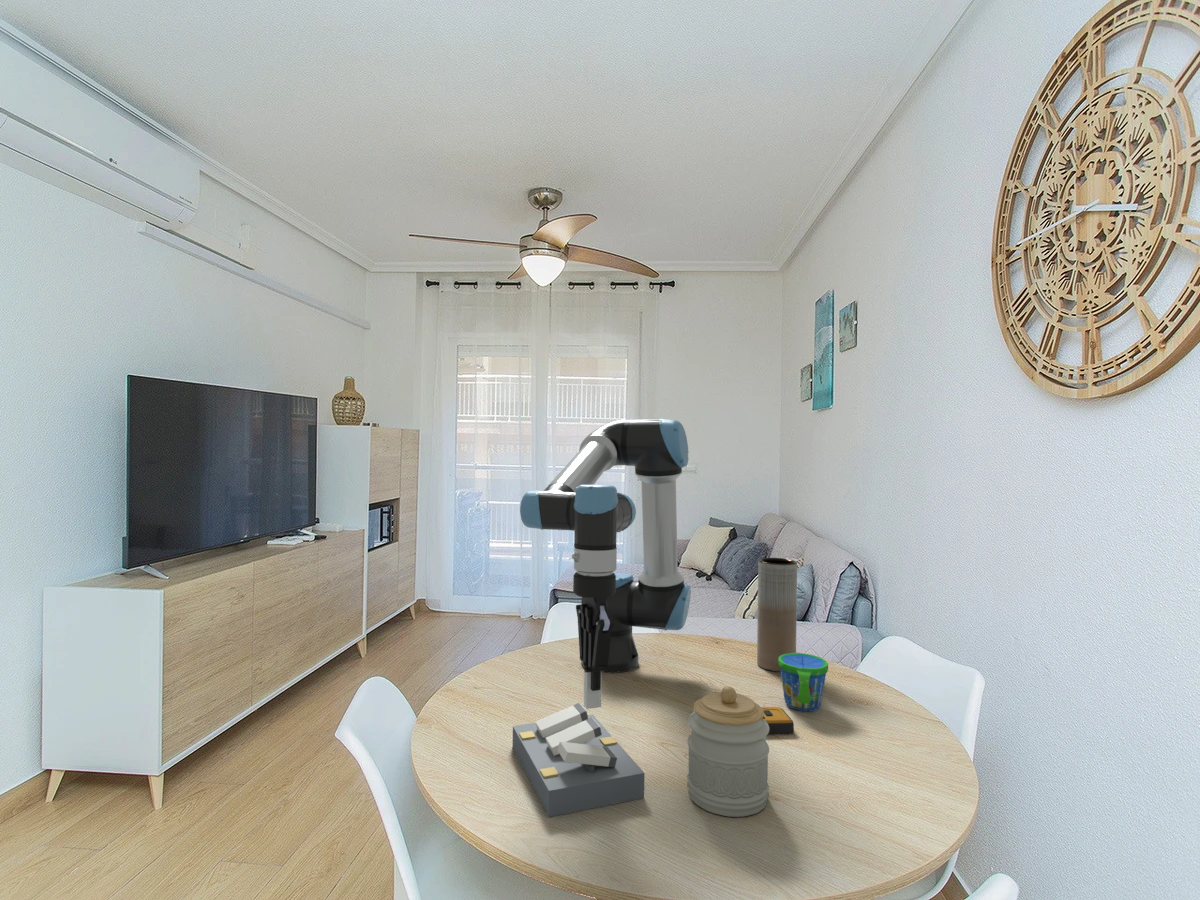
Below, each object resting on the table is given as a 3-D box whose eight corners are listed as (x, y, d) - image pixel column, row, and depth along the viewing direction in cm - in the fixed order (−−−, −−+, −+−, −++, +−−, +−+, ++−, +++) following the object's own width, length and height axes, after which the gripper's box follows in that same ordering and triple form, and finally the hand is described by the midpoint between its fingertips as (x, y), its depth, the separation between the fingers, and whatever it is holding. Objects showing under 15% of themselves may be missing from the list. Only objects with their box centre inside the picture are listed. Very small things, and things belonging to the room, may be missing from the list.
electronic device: (795, 738, 124) (796, 721, 124) (718, 738, 123) (718, 721, 123) (780, 719, 133) (780, 703, 133) (707, 720, 131) (708, 704, 131)
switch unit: (512, 747, 117) (512, 720, 117) (592, 734, 123) (592, 709, 123) (548, 817, 95) (548, 784, 95) (644, 797, 101) (644, 766, 101)
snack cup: (826, 724, 129) (827, 674, 130) (774, 715, 133) (774, 667, 133) (828, 697, 144) (829, 653, 144) (781, 690, 148) (781, 647, 148)
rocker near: (557, 750, 103) (559, 741, 103) (606, 756, 106) (608, 747, 106) (564, 761, 99) (567, 752, 99) (615, 767, 102) (617, 758, 102)
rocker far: (536, 729, 116) (534, 721, 116) (581, 710, 119) (579, 702, 119) (542, 738, 112) (540, 730, 112) (588, 718, 115) (586, 710, 115)
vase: (755, 658, 171) (756, 557, 171) (792, 660, 169) (793, 558, 169) (759, 671, 161) (760, 563, 161) (799, 673, 159) (800, 564, 160)
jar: (767, 781, 106) (768, 677, 106) (770, 824, 94) (771, 706, 94) (690, 771, 109) (691, 670, 109) (683, 812, 97) (684, 698, 97)
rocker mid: (547, 745, 109) (545, 737, 109) (594, 725, 112) (592, 717, 112) (554, 756, 106) (552, 747, 105) (602, 734, 109) (600, 726, 109)
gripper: (563, 567, 115) (560, 695, 115) (587, 579, 103) (584, 724, 103) (601, 565, 118) (599, 691, 117) (629, 577, 106) (626, 718, 105)
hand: (592, 706), depth 110 cm, fingers closed
